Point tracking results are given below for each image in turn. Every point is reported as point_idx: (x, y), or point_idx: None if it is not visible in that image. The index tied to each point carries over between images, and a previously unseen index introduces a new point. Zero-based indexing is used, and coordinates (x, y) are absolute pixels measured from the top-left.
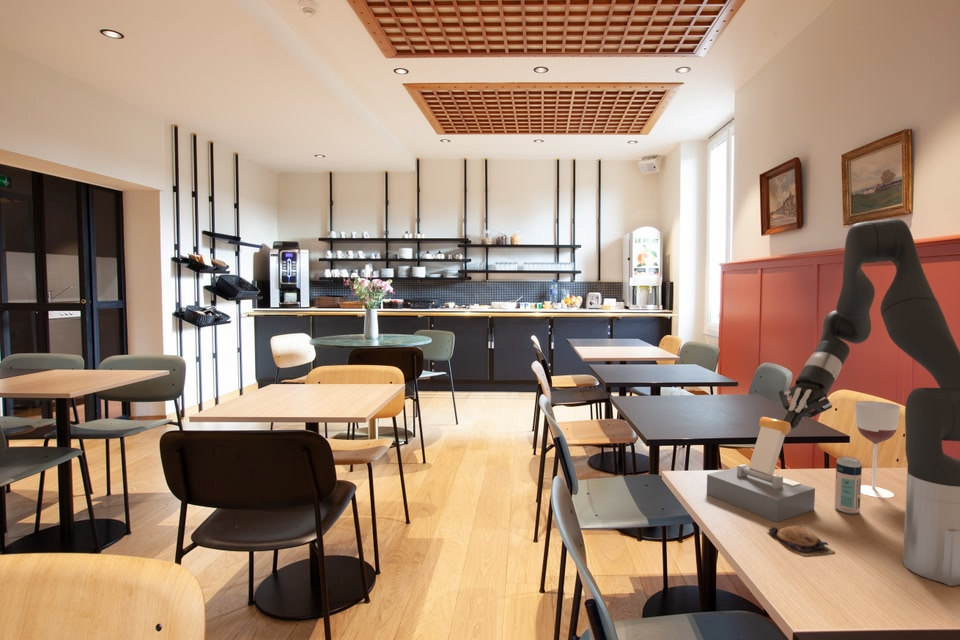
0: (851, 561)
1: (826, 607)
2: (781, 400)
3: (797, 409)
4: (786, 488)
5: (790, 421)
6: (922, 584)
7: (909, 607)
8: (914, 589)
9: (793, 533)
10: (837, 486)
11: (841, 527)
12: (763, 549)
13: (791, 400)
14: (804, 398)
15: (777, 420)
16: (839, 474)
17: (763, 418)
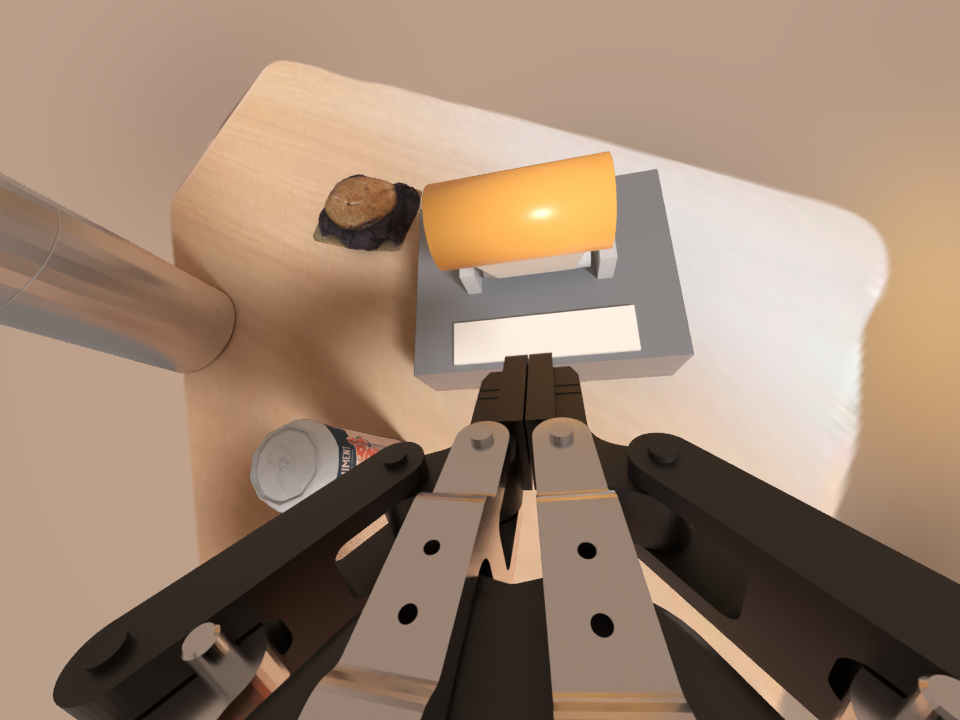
0: (288, 238)
1: (267, 113)
2: (814, 514)
3: (486, 436)
4: (456, 295)
5: (509, 364)
6: (204, 270)
7: (206, 199)
8: (209, 246)
9: (354, 177)
10: (370, 435)
11: (353, 352)
12: (387, 143)
13: (619, 503)
14: (420, 580)
15: (484, 180)
16: (340, 428)
17: (588, 155)
